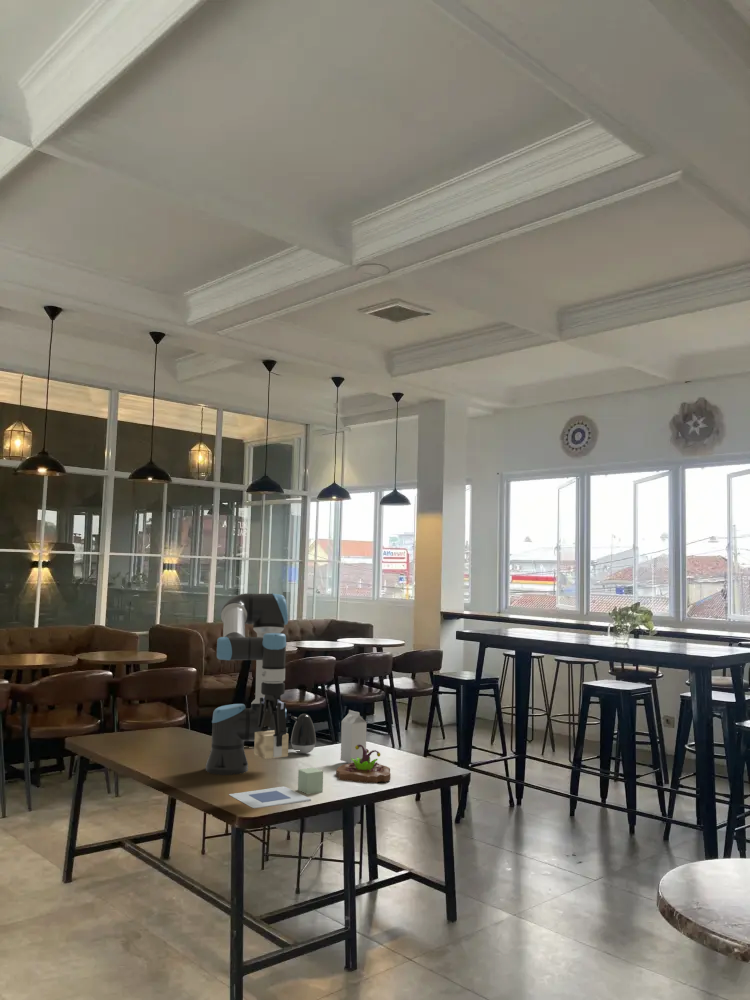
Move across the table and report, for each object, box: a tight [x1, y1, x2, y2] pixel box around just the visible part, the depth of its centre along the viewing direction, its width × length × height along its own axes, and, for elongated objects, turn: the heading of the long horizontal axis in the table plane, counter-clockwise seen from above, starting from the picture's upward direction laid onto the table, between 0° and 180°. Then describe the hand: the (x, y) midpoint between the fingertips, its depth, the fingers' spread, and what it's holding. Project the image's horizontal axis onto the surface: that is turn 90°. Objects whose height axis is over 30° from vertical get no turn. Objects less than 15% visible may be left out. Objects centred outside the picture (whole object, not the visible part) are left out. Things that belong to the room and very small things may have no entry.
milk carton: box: [340, 709, 367, 764], centre depth 315 cm, size 7×7×19 cm
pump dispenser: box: [290, 713, 317, 754], centre depth 329 cm, size 10×10×15 cm
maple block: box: [253, 730, 289, 760], centre depth 259 cm, size 8×8×7 cm
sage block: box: [297, 767, 324, 795], centre depth 268 cm, size 6×6×7 cm
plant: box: [335, 745, 392, 784], centre depth 293 cm, size 20×20×11 cm
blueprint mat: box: [228, 785, 312, 809], centre depth 257 cm, size 18×20×1 cm
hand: (270, 754), depth 259 cm, fingers closed on maple block, 8 cm apart
